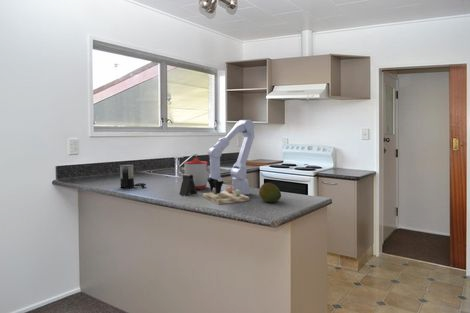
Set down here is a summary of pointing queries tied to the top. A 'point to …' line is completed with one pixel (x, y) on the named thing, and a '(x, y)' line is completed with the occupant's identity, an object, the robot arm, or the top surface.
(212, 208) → the top surface
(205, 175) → the citrus juicer
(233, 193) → the birch plate
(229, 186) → the terracotta ball
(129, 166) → the milk frother
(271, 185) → the fruit
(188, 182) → the door stopper
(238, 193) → the sage ball
